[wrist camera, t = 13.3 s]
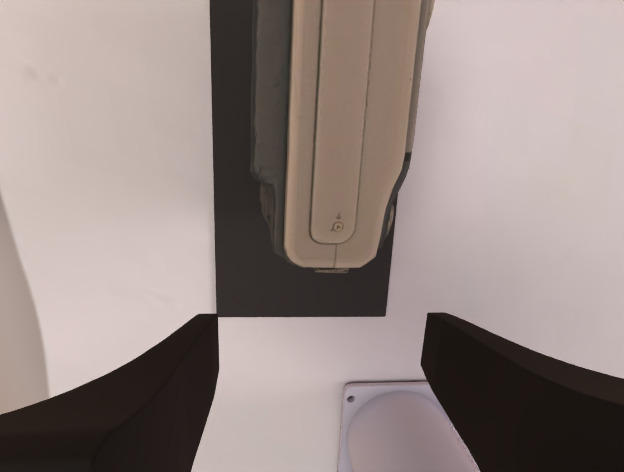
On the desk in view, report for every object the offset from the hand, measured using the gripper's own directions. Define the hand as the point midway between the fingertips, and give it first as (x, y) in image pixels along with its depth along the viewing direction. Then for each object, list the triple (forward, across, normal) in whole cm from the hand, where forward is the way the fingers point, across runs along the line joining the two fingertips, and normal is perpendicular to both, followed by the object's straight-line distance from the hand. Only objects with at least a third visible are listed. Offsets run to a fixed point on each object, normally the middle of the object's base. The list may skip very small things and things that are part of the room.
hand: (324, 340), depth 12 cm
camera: (+10, 0, -8) cm, 13 cm away
